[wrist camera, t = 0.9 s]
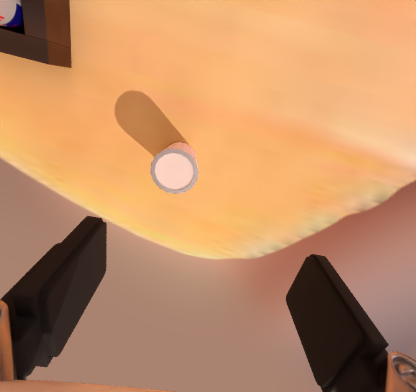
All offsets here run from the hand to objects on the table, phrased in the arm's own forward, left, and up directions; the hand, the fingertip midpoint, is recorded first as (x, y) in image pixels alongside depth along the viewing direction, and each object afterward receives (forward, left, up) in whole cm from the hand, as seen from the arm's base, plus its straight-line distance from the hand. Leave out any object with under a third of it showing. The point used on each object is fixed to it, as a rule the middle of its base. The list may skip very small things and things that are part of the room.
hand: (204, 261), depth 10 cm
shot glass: (+4, -4, -29) cm, 29 cm away
